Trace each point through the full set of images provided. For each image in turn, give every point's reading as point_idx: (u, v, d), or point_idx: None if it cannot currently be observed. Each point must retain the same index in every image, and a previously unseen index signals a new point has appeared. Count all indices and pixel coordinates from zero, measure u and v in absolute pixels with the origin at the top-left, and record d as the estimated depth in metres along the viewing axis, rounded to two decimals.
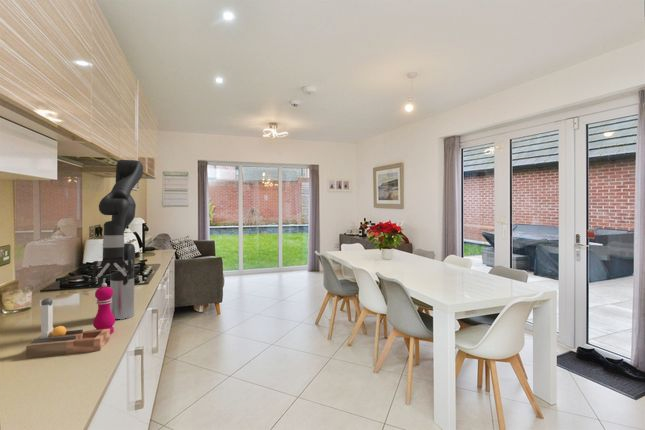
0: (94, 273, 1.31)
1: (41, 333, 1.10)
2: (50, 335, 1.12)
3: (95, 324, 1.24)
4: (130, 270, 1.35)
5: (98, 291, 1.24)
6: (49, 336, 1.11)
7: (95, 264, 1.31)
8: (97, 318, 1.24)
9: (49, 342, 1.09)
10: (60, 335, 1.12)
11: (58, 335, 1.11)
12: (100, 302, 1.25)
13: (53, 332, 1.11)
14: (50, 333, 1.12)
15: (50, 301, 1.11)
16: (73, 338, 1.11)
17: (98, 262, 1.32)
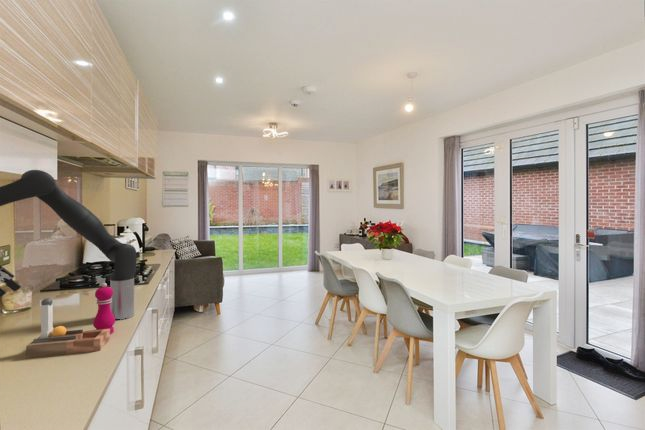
0: None
1: (41, 333, 1.10)
2: (50, 335, 1.12)
3: (95, 324, 1.24)
4: None
5: (98, 291, 1.24)
6: (49, 336, 1.11)
7: None
8: (97, 318, 1.24)
9: (49, 342, 1.09)
10: (60, 335, 1.12)
11: (58, 335, 1.11)
12: (100, 302, 1.25)
13: (53, 332, 1.11)
14: (50, 333, 1.12)
15: (50, 301, 1.11)
16: (73, 338, 1.11)
17: None
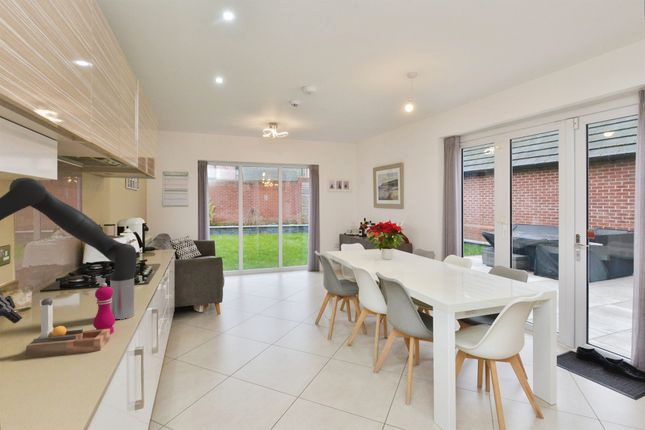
0: None
1: (41, 333, 1.10)
2: (50, 335, 1.12)
3: (95, 324, 1.24)
4: None
5: (98, 291, 1.24)
6: (49, 336, 1.11)
7: None
8: (97, 318, 1.24)
9: (49, 342, 1.09)
10: (60, 335, 1.12)
11: (58, 335, 1.11)
12: (100, 302, 1.25)
13: (53, 332, 1.11)
14: (50, 333, 1.12)
15: (50, 301, 1.11)
16: (73, 338, 1.11)
17: None
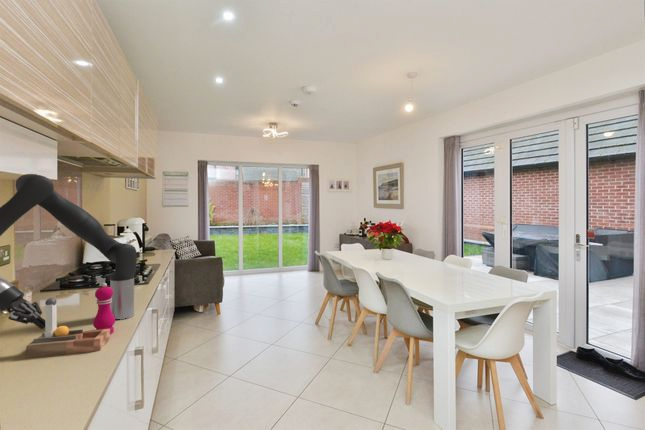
0: None
1: (45, 333, 1.10)
2: (54, 335, 1.12)
3: (95, 324, 1.24)
4: None
5: (98, 291, 1.24)
6: (53, 336, 1.12)
7: None
8: (97, 318, 1.24)
9: (49, 342, 1.09)
10: None
11: (60, 335, 1.11)
12: (100, 302, 1.25)
13: (57, 331, 1.11)
14: None
15: (54, 301, 1.12)
16: (73, 338, 1.11)
17: None
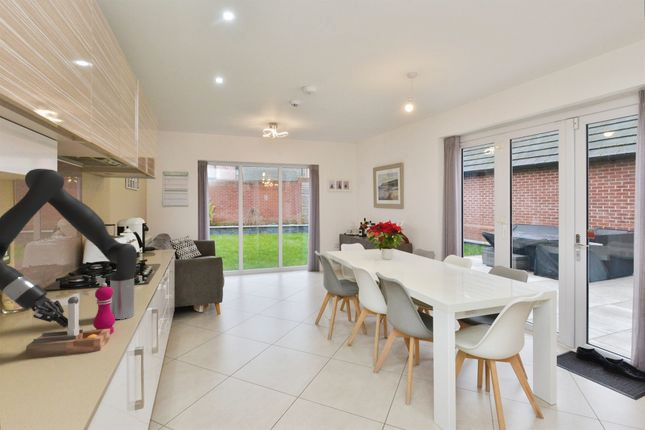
0: None
1: (68, 331, 1.12)
2: (76, 333, 1.14)
3: (95, 324, 1.24)
4: None
5: (98, 291, 1.24)
6: (75, 334, 1.14)
7: None
8: (97, 318, 1.24)
9: (49, 342, 1.09)
10: None
11: None
12: (100, 302, 1.25)
13: None
14: (76, 331, 1.14)
15: (76, 299, 1.14)
16: (73, 338, 1.11)
17: None
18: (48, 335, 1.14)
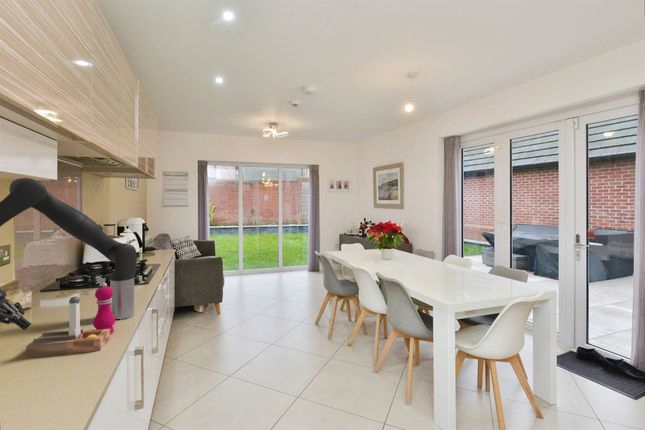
0: None
1: (69, 331, 1.12)
2: (77, 333, 1.14)
3: (95, 324, 1.24)
4: None
5: (98, 291, 1.24)
6: (77, 334, 1.14)
7: None
8: (97, 318, 1.24)
9: (49, 342, 1.09)
10: None
11: None
12: (100, 302, 1.25)
13: None
14: (77, 331, 1.14)
15: (78, 299, 1.14)
16: (73, 338, 1.11)
17: None
18: (48, 335, 1.14)
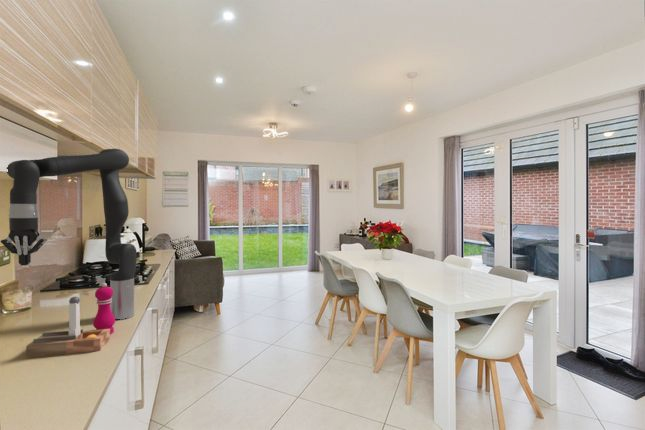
0: (12, 250, 1.13)
1: (69, 331, 1.12)
2: (77, 333, 1.14)
3: (95, 324, 1.24)
4: (34, 249, 1.15)
5: (98, 291, 1.24)
6: (77, 334, 1.14)
7: (5, 242, 1.12)
8: (97, 318, 1.24)
9: (49, 342, 1.09)
10: None
11: None
12: (100, 302, 1.25)
13: None
14: (77, 331, 1.14)
15: (78, 299, 1.14)
16: (73, 338, 1.11)
17: (6, 239, 1.13)
18: (48, 335, 1.14)
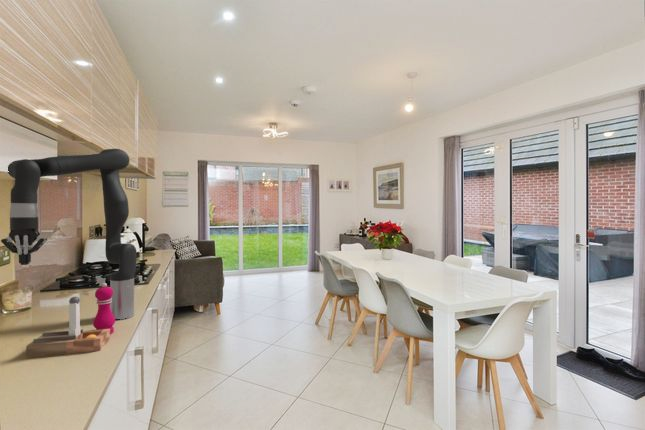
0: (13, 249, 1.13)
1: (69, 331, 1.12)
2: (77, 333, 1.14)
3: (95, 324, 1.24)
4: (34, 248, 1.15)
5: (98, 291, 1.24)
6: (77, 334, 1.14)
7: (5, 241, 1.12)
8: (97, 318, 1.24)
9: (49, 342, 1.09)
10: None
11: None
12: (100, 302, 1.25)
13: None
14: (77, 331, 1.14)
15: (78, 299, 1.14)
16: (73, 338, 1.11)
17: (7, 238, 1.13)
18: (48, 335, 1.14)
